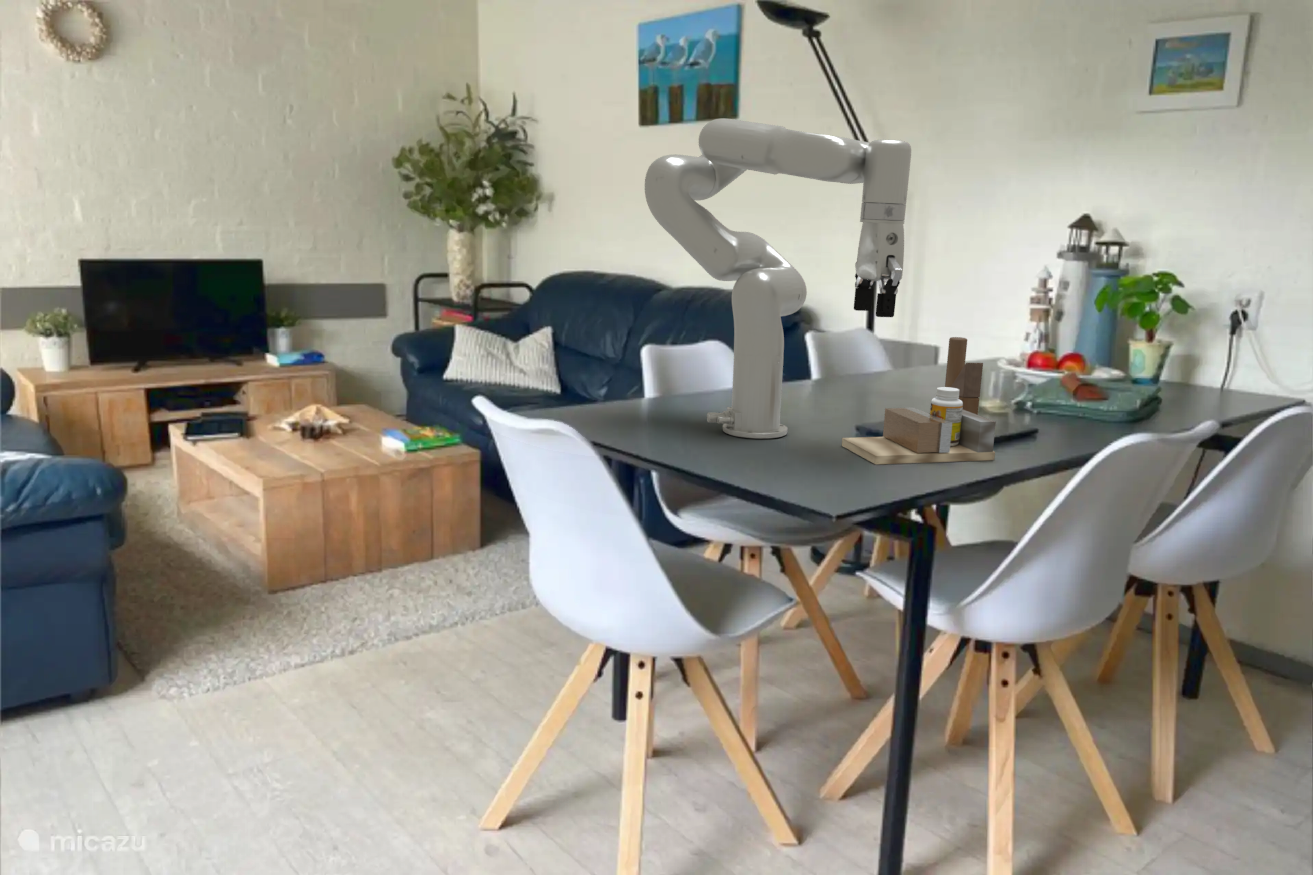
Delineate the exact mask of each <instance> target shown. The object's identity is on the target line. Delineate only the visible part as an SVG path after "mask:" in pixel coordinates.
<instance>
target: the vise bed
mask: <svg viewBox="0 0 1313 875" xmlns="http://www.w3.org/2000/svg"><path fill="white" fill-rule="evenodd" d="M996 423H997V421H996V420H992V419H990V418H986V417H984V416H982V415H979V414H978V415H976V414H974V413H971V412H968V411H965V410H963V409H962V418H961V429H960V438H959V443H958V445H956V446H951V447H950V452H945V453H939V452H924V453H917V452H914V451H912V450H910V449H908V448H906V447H904V446H902V445H900V444H898V443H896V442H894V441H892V440H890V439H887V438H885V437H883V436H865V437H862V436H860V437H842V438H841V446H842V447H843V448H844V449H846V450H848V451H850V452H852V453H854V454H856V455H857V456H860V457H861V458H863V459H864V460H867V461H868V462H871V463H872V464H874V465H896V464H897V465H899V464H921V463H922V464H924V463H949V462H950V463H951V462H953V463H954V462H975V461H976V462H977V461H978V462H981V461H995V457H996V451H994V444H995V443H994V442H995V434H996V426H997V424H996Z"/></svg>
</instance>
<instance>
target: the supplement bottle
mask: <svg viewBox="0 0 1313 875" xmlns="http://www.w3.org/2000/svg"><path fill="white" fill-rule="evenodd" d="M958 398H959V389H957V388H951V387H945V386H940V387H938V386H937V388H936V393H935V397H933V398H932V399H931V401H930V408H929V414H931V415H934V416H936V417H939V418H942V419H944V420H947V421H949V422H952V432H951V442H950V447H951V446H956V445H958V443H959V438H960V429H961V418H962V408H963V402H962V401H961V400H960V399H958Z"/></svg>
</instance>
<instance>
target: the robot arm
mask: <svg viewBox="0 0 1313 875" xmlns="http://www.w3.org/2000/svg"><path fill="white" fill-rule="evenodd" d="M698 148H699V151H700V153H701V154H700V156H699V155H698V156H695V155H694V156H692V155H684V154H667V155H662V156H660V157H658V158H656V159H655V160H654V161H652V162H651V164H650V165H649V166H648V169H647V170H646V173H645V178H644V196H645V200H646V204H647V206H648V209H649V211H650V213H651V214H652V217H653V218H654V219H655V221H656V222H657V223H658V224H659V226H661V228H662V229H664V231H666V233H668V234H669V235H670V236H671V237H672V238H673V239H674V240H676V242H677V243H678V244H679V245H680V246H681V247H682V248H683V249H684V250H685V252H687V254H689V256H690V257H691V258H692V259H693V260H695V261H696V262H697V264H698V265H699V266H701V267H702V269H703V270H704V271H705V272H707V273H708V275H709V276H711V277H712V278H713V279H715V280H717V281H721V282H735V283H734V284H733V287H732V292H731V307H732V309H731V310H732V315H733V316H732V317H733V328H734V331H733V332H734V336H733V369H732V387H731V388H732V390H731V391H732V392H731V406H727V407H726V410H723V411H722V412H707V414H706V421H707V423H717V424H719V425H721V424H722V431H723V432H724V433H725V434H728V435H730V436H734V437H737V438H746V439H761V440H762V439H775V438H777V439H778V438H782V437H784V436H786V435H787V434H788V426H786V425H784V424H782V423H781V409H782V408H781V406H782V392H783V390H782V389H783V371H784V367H783V366H784V353H785V352H784V350H785V337H784V336H785V335H784V329H783V328H784V327H783V323H782V318H781V317H786V316H789V315H792V314H794V313H797V312H798V311H799V310H800V309H801V308H802V307H803V306H804V304H805V302H806V299H807V295H808V294H807V293H808V291H807V286H806V282H805V280H804V278H803V276H802V275H801V273H800V272H799V271H798V270H797V269H796V268H795V266H793V265H792V264H791V263H790V262H789V260H787V259H786V258H785V257H784V256H782V254H780V253H779V252H778V251H777V250H776V249H775V248H774V247H773V246H772V245H771V244H770V243H769V242H768V241H767V240H765V239H764V238H763V237H761V236H759V235H758V234H755V233H753V232H749V231H737V230H736V231H735V230H731V229H730V228H728V227H727V226H725V225H724V224H723V223H722V222H721V221H719V220H718V219H717V218H716V217H715V216H714V214H712V213H711V211H710V210H708V209H707V208H705V207H704V206H703V205H701V204H700V203H698V202H696V201H705V200H708V199H710V198H712V197H714V196H715V195H717V194H718V193H720V192H721V191H723V189H725V188H726V187H728V185H730V184H731V183H732V182H734V181H735V180H737V178H739V177H740V176H741V175H743V174H744V173H745V172H746V171H747V170H748V171H753V172H760V173H763V174H764V173H765V174H770V175H777V174H782V175H787V176H793V177H799V178H805V179H810V180H817V181H822V182H828V183H839V184H846V185H848V184H849V185H852V184H853V185H855V184H862V195H861V207H860V217H859V218H860V219H859V222H860V223H861V224H862V225H861V230H860V236H859V241H858V247H857V248H858V249H857V258H856V262H855V264H854V265H855V266H854V267H855V275H854V278H855V283H854V288H855V290H854V299H853V300H854V301H853V302H854V303H853V310H854V311H858V312H860V311H861V312H862V311H863V312H865V311H866V312H867V311H868V312H870V311H872V307H873V306H872V305H873V294H874V288H872V287H873V284H874V282H877V284H878V289H879V293H876V294H877V297H876V307H875V316H876V317H877V318H893V317H895V310H896V298H897V294H898V292H899V289H898V287H899V285H900V283H901V282H900V281H901V280H902V279H903V273H904V272H903V271H904V261H905V260H904V259H905V258H904V257H905V228H904V224H905V218H906V208H907V199H908V198H907V197H908V190H909V189H908V188H909V179H910V171H911V170H910V169H911V161H912V160H911V158H912V146H911V145H910V143H909V142H908V141H905V140H901V139H900V140H899V139H875V140H872V141H870V142H869V141H863V140H858V139H854V138H853V139H852V138H849V137H844V136H837V135H831V134H830V135H829V134H824V133H823V134H821V133H815V132H807V131H802V130H801V131H800V130H793V129H788V128H786V127H785V126H783V125H778V124H777V125H776V124H768V123H760V122H754V121H747V120H740V119H733V118H732V119H731V118H726V117H725V118H724V117H723V118H715V119H713V120H710V121H709V122H707V123H706V124H704V125H703V127H702V129H701V130H700V133H699V135H698Z"/></svg>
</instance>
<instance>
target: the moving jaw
mask: <svg viewBox="0 0 1313 875" xmlns="http://www.w3.org/2000/svg"><path fill="white" fill-rule="evenodd" d="M951 432H952V422H949V421H947V420H944V419H942V418H939V417H936V416H934V415H931V414H930V412H926V411H923V410H921V409H918V408H916V407H913V406H911V407H897V408H895V407H893V408H892V407H891V408H886V407H885V409H884V419H883V433H882V437H885V438H887V439H890V440H892V441H894V442H896V443H898V444H900V445H902V446H904V447H906V448H908V449H910V450H912V451H914V452H917V453H924V452H939V453H945V452H950V442H951Z"/></svg>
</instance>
